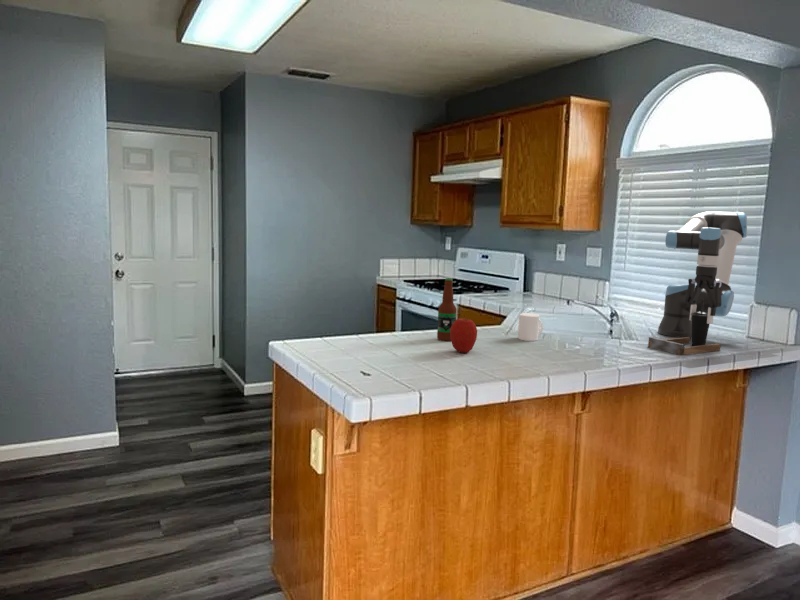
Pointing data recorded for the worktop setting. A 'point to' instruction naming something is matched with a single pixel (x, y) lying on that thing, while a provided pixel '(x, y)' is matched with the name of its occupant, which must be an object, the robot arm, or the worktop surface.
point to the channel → (680, 346)
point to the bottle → (446, 312)
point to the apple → (463, 334)
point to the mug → (529, 327)
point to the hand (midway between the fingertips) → (700, 321)
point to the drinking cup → (699, 327)
